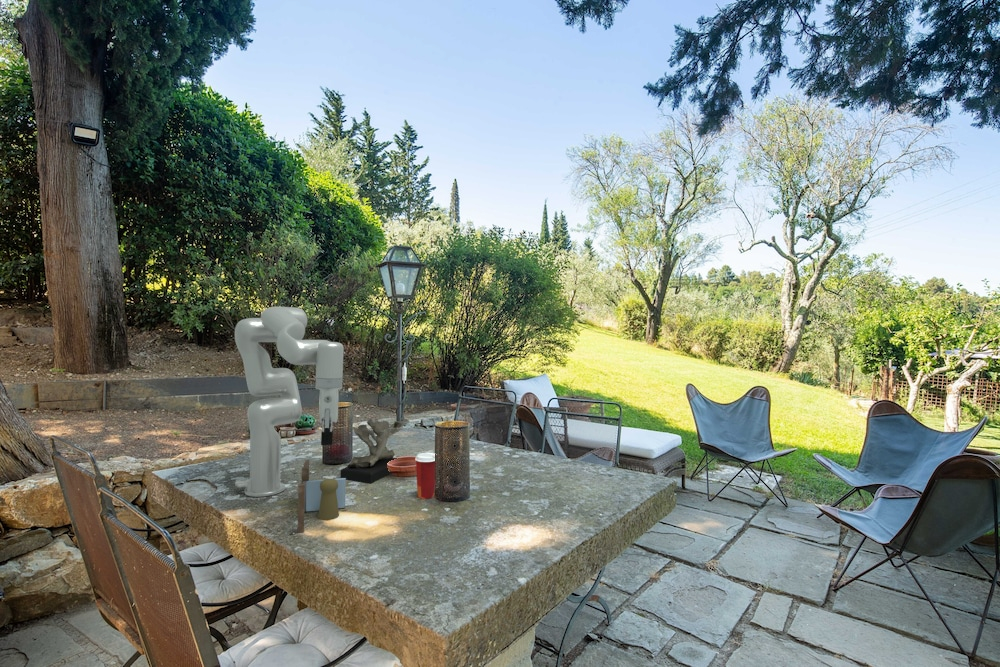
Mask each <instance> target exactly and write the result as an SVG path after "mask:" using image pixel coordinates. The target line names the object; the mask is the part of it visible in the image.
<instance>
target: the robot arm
mask: <svg viewBox="0 0 1000 667" xmlns="http://www.w3.org/2000/svg"><path fill="white" fill-rule="evenodd" d="M307 324H308V316H307V314H306V312H305V311H304V310H303V309H301V308H300V307H297V306H296V307H290V306H271V307H267V308H265V309H264V310H263V311H262V313H261V314H260V317H249V318H244V319H241V320H240V321H238V322H237V323H236V325H235V328H234V341H235V344H236V347H237V350H238V352H239V354H240V356H241V359H242V362H243V363H242V364H243V369H244V375H245V380H246V384H247V386H246V387H247V389H248V392H249V393H250V395H251V396H253V397H268V396H278V395H279V397H273V398H264V399H263V398H262V399H258V400H256V401H253V402H252V403H250V404H249V406H248V408H247V411H246V412H247V413H246V414H247V421H248V428H249V437H250V438H249V441H250V443H249V445H250V446H249V478H246V479H245V480H236V481H235V483H234V484H235V485H234V486H235V487H236V488H238V489H240V488H244V494H245V496H248V497H255V498H256V497H257V498H259V497H260V498H261V497H269V496H273V495H276V494H280V493H282V492H283V491H284V490H286V483H285V484H284V483H283V482H281V466H282V465H281V461H282V460H281V459H282V458H281V456H282V449H281V448H282V439H281V438H282V437H281V436H280V434H279V433H278V432H277V430H276V429H275V427H277V426H283V425H288V424H294V423H297V422H298V421H299V420H300V419H301V417H302V412H303V408H302V402H301V397H300V391H299V387H298V381H297V377H296V375H295V373H294V371H292V370H291V369H289V368H286V367H275V368H274V367H273V366H272V362H271V357H270V355H269V353H268V351H267V350H266V349H265V347H263V346H262V345H260V344H259V343H276V350H277V352H278V354H279V355H280V357H281V358H283V359H284V360H285V361H286V362H288V363H289V364H291V365H294V366H302V365H304V366H306V365H316V366H315V369H316V370H315V387H314V389H316V390H319V400H318V401H319V403H318V407H319V409H318V410H319V411H318V412H319V424H322V426H321V427H322V429H321V436H320V441H321V442H320V445H321V446H333V443H334V430H333V423H334V424H336V423H338V418H339V398H340V397H339V396H340V395H339V390H342V389H343V373H344V372H343V371H344V350H345V348H344V345H343V343H341V342H336V341H330V340H327V339H303V338H304V336H305V334H306V327H307V326H308V325H307Z"/></svg>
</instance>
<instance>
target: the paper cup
mask: <svg viewBox="0 0 1000 667" xmlns="http://www.w3.org/2000/svg"><path fill="white" fill-rule="evenodd" d="M435 454H436V453H434V452H422V453H421V452H420V453H417V454H416V456H415V459H414V460H415V464H416V465H415V468H416V489H417V490H416V493H417V498H418V499H422V500H429V499H432V498H434V497H435V493H434V491H436V480H435Z"/></svg>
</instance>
